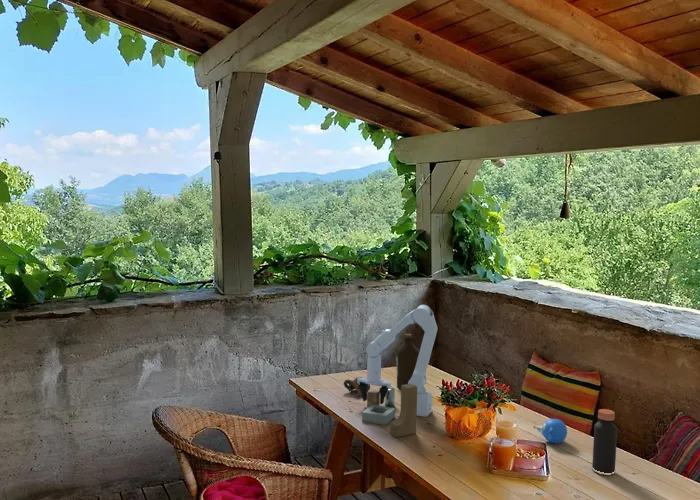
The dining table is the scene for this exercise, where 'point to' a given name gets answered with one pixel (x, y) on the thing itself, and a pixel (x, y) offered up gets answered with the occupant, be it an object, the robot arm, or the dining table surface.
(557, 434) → the blue rubber bulb blower
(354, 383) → the pottery mug
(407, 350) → the olive oil
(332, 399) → the dining table surface
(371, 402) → the square peg
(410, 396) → the brown boot
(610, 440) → the bottle
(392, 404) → the round peg
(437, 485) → the dining table surface
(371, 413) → the socket block
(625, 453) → the dining table surface
